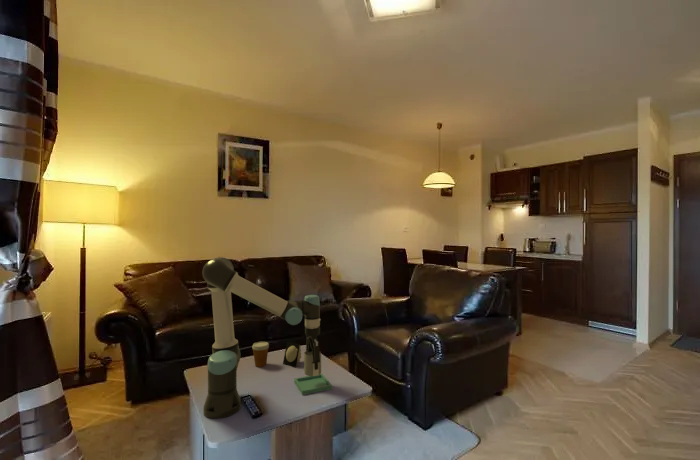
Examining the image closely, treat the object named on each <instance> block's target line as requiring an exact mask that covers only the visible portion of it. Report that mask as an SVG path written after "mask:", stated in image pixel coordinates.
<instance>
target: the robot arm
mask: <svg viewBox="0 0 700 460" xmlns="http://www.w3.org/2000/svg"><path fill="white" fill-rule="evenodd" d="M201 272H202V278H203V279H204V281H205V282H206V284H207V289H208V290H210V292H211V303H212V306H211V307H212V315H213V317H212V319H213V328H214V330H213V331H214V340H215V341H214V343H213V344H212V345H211V349H212V350H211V351H212V354H211V355H209V357H208V360H207V395H206V398H205V402H204V404H203V410H202V411H203V416H205V418H210V419H223V418H227V417H230V416H233V415H234V414H236V413H237V412H239V410H241V407H242V406H241V405H242V401H241V397H240V395H239V391H238V388H237V387H238V386H237V382H238V381H237V376H238V375H237V373H238V372H237V370H238V366H239V364H240V361H241V357H242V356H241V350H240V347H239V340H238V339H236V338H235V327H234V315H233V302H232V300H233V299H232V294H234V295H236V296H239V297H240V298H241V299H244V300H247V301H248V302H249V303H252V304H254V305H255V306H258V307H260V308H261V309H264V310H266V311H267V312H270V313H271V314H273V315H276V316H278V317H280V318H281V319H282V320H285V321H286V322H287V324H289V325H291V326H296V325H298V324H300V323H301V321H302V320H303V317H304V335H305V336H306V340H305V341H306V344H305V345H306V346H305V351H308V352H312V354H313V362H312V363H313V376H318V375H319V362H320V351H321V350H320V341H318V336H320V334H321V327H320V326H321V320H322V319H321V316H320V315H321V312H320V311H321V301H320V296H319V295H316V294H308V295H305V296H304V299H302V300H285V299H283V298H282V297H280V296H278V295H276V294H274V293H272V292H270V291H268V290H266V289H265V288H262V287H260V286H259V285H257V284H256V283H253V282H252V281H249V280H247V279H246V278H243V277H242V276H240V275H239V274H238V272H237V271H236V270H234V265H233V263H232V261H231V260H229V259H228V258H226V257H219V256H218V257H214V258H213V259H211V260H209V261H207V262H206V263H205V264H204V265H203V268H202V270H201Z"/></svg>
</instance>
